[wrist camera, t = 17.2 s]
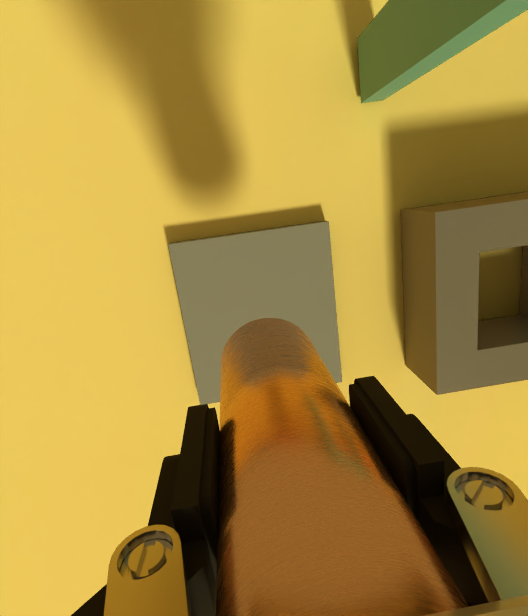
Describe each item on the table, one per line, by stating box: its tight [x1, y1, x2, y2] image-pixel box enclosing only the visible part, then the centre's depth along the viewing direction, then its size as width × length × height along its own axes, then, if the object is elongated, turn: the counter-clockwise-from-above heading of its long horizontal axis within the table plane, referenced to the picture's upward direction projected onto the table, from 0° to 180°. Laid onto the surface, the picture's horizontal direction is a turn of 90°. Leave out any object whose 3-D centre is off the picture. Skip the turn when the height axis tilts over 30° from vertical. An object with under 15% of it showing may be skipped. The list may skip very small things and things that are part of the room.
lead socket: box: [401, 192, 528, 395], centre depth 23 cm, size 10×10×4 cm
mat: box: [168, 221, 342, 405], centre depth 23 cm, size 10×9×1 cm
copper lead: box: [216, 318, 469, 616], centre depth 11 cm, size 4×4×12 cm
